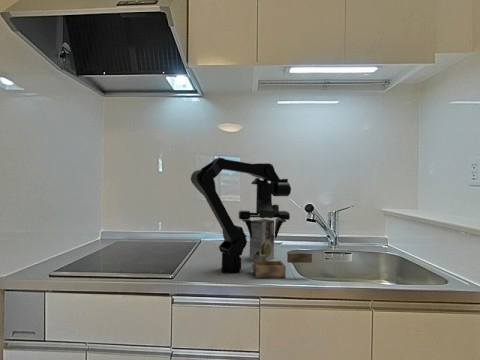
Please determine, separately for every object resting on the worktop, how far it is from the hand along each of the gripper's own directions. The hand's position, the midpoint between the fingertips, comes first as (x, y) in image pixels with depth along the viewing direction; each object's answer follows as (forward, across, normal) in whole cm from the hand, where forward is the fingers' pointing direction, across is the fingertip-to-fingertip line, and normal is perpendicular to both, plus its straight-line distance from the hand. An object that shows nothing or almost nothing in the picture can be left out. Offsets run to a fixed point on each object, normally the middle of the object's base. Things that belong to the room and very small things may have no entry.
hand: (263, 238), depth 139 cm
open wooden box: (+11, 0, -11) cm, 16 cm away
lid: (+12, +1, -1) cm, 12 cm away
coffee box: (+11, +2, +14) cm, 18 cm away
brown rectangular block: (+6, +10, -14) cm, 18 cm away
